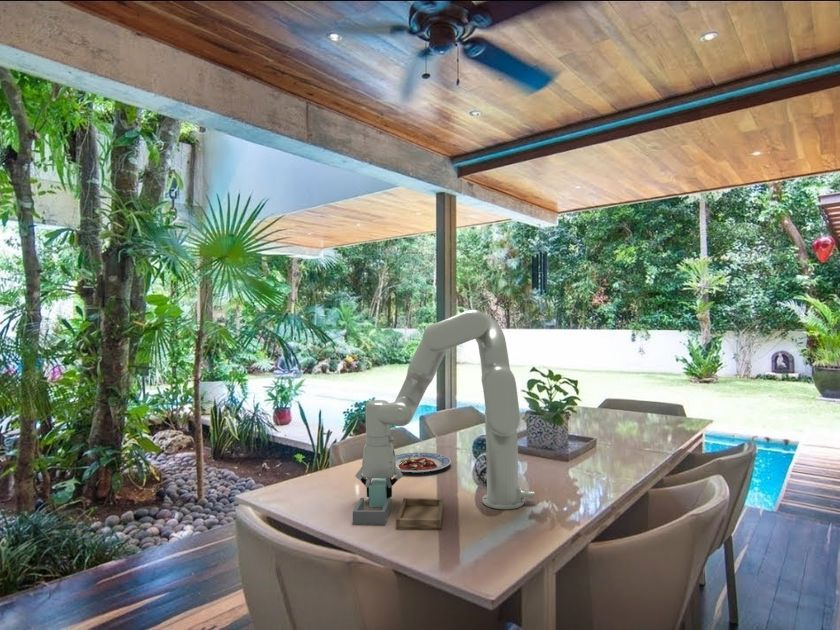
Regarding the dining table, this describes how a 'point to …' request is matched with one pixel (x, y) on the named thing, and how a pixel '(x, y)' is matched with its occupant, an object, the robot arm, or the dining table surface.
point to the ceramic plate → (421, 462)
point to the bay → (371, 514)
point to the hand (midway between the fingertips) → (379, 498)
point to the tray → (420, 514)
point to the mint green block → (378, 492)
